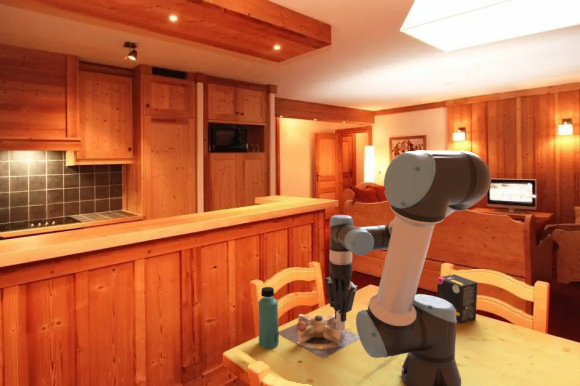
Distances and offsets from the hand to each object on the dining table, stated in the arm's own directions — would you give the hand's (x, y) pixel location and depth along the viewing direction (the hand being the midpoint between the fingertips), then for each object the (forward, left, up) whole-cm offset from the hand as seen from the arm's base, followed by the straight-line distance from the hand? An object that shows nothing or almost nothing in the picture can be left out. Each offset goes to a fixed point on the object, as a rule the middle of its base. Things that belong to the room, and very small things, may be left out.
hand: (340, 329), depth 124 cm
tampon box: (-20, -45, -3) cm, 49 cm away
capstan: (+4, +6, -2) cm, 8 cm away
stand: (+4, +6, -3) cm, 8 cm away
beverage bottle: (+11, +22, -3) cm, 25 cm away
